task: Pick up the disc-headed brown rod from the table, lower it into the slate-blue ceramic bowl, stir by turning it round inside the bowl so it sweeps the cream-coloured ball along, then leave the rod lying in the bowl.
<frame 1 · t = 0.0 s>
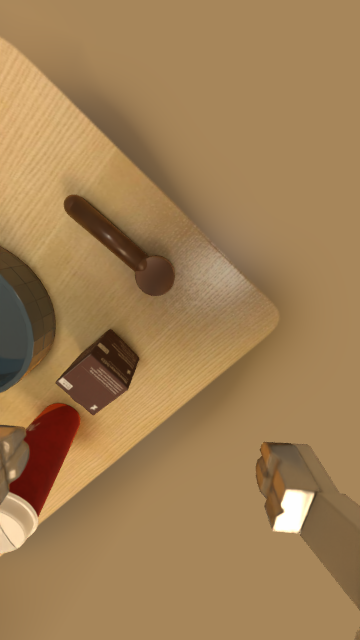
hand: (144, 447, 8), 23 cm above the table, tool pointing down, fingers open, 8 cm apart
disc-headed brown rod: (124, 246, 28), on the table
box: (111, 354, 33), on the table
coffee cup: (62, 417, 37), on the table
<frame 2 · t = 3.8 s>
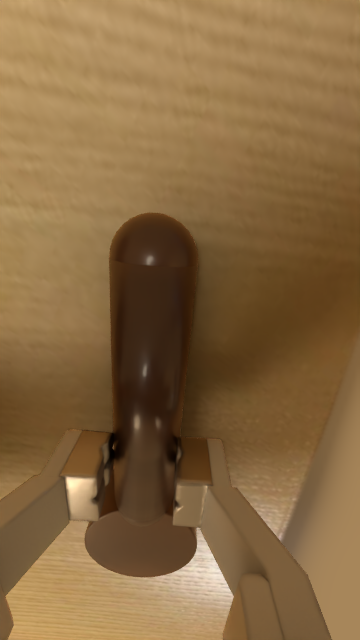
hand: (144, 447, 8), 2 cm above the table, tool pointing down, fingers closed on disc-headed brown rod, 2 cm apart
disc-headed brown rod: (151, 412, 10), on the table, touching gripper
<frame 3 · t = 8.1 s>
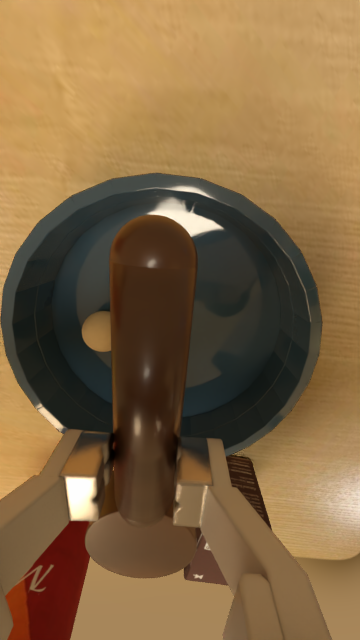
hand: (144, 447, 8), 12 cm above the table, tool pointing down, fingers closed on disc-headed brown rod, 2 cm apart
disc-headed brown rod: (151, 413, 10), point 10 cm above the table, touching gripper
box: (215, 471, 25), on the table
coffee cup: (81, 468, 25), on the table
ball: (103, 331, 17), point 2 cm above the table, touching bowl
bowl: (166, 325, 19), on the table
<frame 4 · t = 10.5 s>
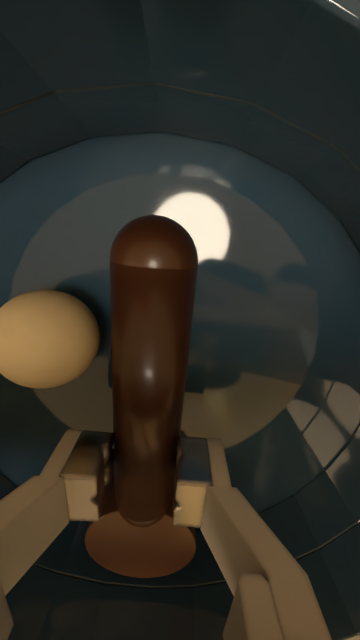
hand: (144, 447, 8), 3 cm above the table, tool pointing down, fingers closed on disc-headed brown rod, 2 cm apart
disc-headed brown rod: (151, 413, 10), point 1 cm above the table, touching gripper
ball: (49, 338, 7), point 2 cm above the table, touching bowl
bowl: (158, 385, 10), on the table
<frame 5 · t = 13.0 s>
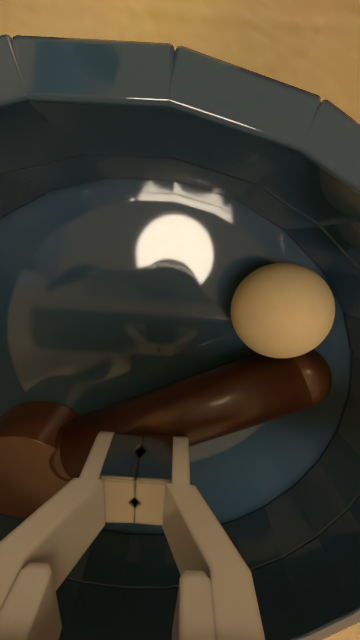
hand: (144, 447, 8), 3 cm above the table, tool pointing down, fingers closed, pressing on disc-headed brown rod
disc-headed brown rod: (143, 406, 10), point 1 cm above the table, touching bowl, gripper
ball: (278, 310, 7), point 2 cm above the table, tilted 114°, touching bowl
bowl: (148, 398, 11), on the table
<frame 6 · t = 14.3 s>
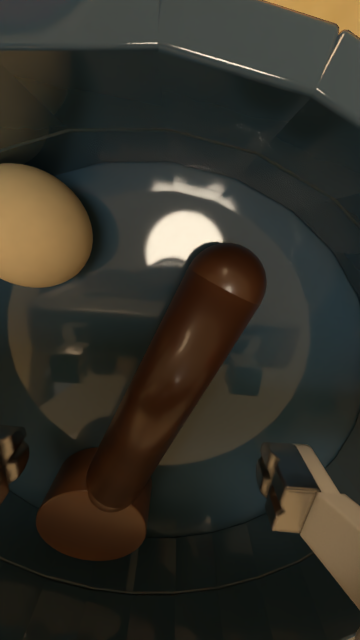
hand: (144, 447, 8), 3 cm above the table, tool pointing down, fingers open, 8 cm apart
disc-headed brown rod: (146, 408, 10), point 1 cm above the table, touching bowl
ball: (32, 231, 6), point 2 cm above the table, tilted 59°, touching bowl
bowl: (152, 397, 10), on the table
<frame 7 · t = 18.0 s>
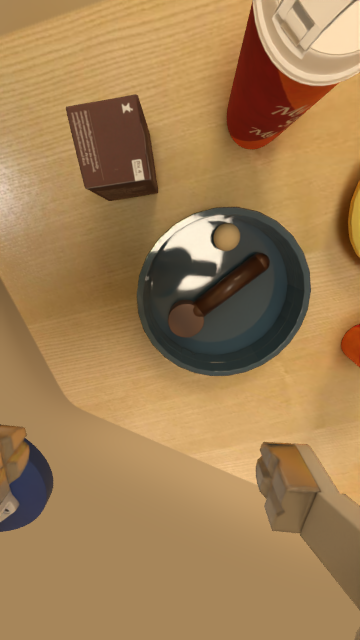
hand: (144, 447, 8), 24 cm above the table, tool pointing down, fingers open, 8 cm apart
disc-headed brown rod: (215, 293, 30), point 1 cm above the table, touching bowl
paper cup: (359, 340, 33), on the table
box: (129, 169, 26), on the table
coffee cup: (254, 116, 24), on the table
ball: (226, 237, 26), point 2 cm above the table, tilted 40°, touching bowl
bowl: (216, 292, 31), on the table
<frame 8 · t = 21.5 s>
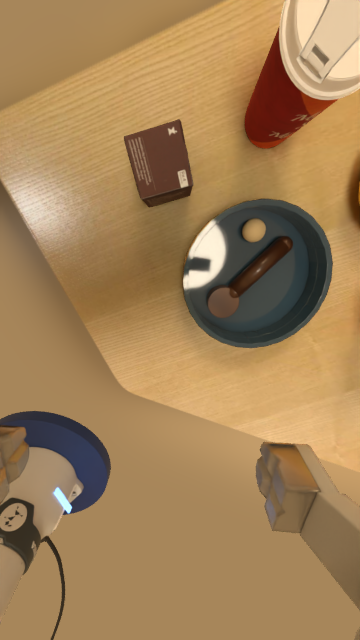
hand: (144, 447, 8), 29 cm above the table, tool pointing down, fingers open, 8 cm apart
disc-headed brown rod: (246, 276, 34), point 1 cm above the table, touching bowl
box: (164, 178, 31), on the table
coffee cup: (268, 120, 29), on the table
ball: (253, 230, 31), point 2 cm above the table, tilted 27°, touching bowl
bowl: (246, 275, 35), on the table
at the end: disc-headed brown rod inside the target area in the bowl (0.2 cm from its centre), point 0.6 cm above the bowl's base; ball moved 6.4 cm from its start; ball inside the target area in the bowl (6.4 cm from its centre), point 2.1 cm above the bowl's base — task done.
